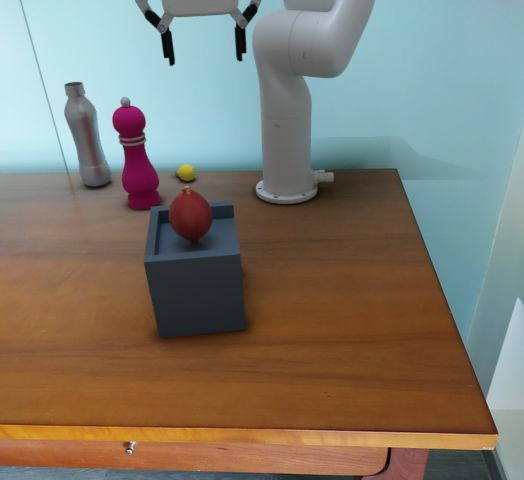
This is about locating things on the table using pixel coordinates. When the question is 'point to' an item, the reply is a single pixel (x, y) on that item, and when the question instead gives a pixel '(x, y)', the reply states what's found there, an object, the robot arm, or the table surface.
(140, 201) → the pepper mill
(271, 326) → the table surface
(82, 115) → the plastic bottle
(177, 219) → the onion
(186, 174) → the yellow rounded piece
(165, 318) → the blue storage bin
